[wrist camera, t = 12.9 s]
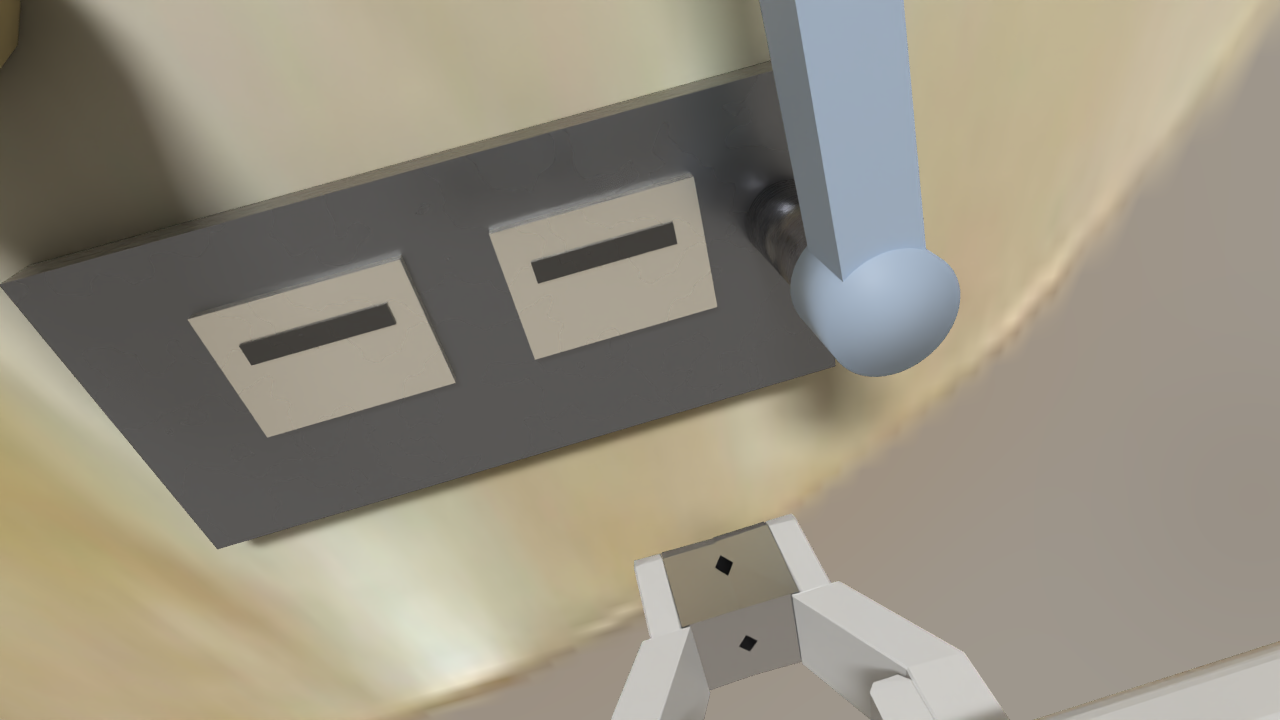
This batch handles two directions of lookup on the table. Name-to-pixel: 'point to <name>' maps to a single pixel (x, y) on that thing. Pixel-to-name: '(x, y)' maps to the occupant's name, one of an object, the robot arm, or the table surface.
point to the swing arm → (858, 183)
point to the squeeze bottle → (8, 28)
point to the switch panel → (445, 308)
